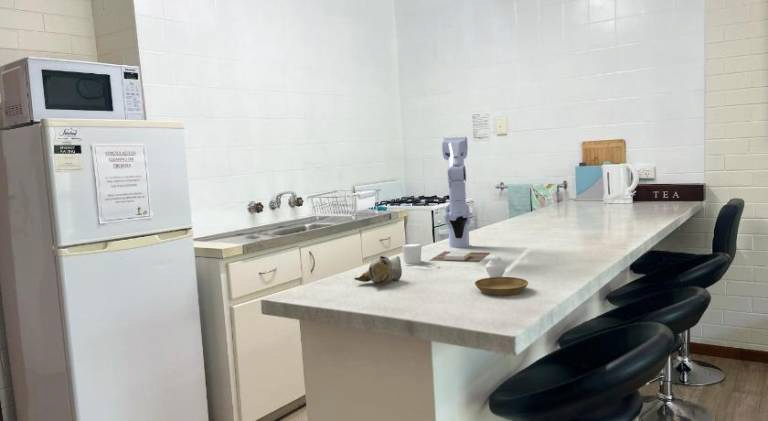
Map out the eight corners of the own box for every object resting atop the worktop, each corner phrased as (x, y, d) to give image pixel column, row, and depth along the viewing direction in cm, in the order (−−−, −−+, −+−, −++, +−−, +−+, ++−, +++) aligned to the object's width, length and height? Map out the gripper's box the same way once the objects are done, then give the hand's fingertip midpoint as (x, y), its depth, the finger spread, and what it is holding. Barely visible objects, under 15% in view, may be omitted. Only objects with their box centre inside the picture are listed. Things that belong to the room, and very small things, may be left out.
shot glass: (422, 262, 212) (421, 243, 212) (422, 266, 206) (421, 246, 205) (403, 262, 213) (402, 243, 212) (402, 266, 206) (401, 246, 206)
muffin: (506, 280, 179) (505, 257, 178) (485, 280, 180) (484, 257, 179) (506, 275, 185) (505, 253, 184) (486, 275, 186) (485, 253, 185)
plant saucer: (475, 298, 161) (475, 289, 160) (474, 285, 175) (474, 277, 175) (531, 297, 159) (531, 288, 158) (525, 284, 173) (525, 276, 173)
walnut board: (444, 254, 226) (444, 251, 226) (491, 255, 219) (491, 252, 219) (428, 263, 210) (428, 260, 210) (478, 265, 203) (478, 262, 203)
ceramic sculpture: (410, 252, 183) (373, 263, 174) (412, 280, 185) (376, 292, 175) (387, 249, 191) (350, 260, 182) (389, 276, 193) (353, 287, 183)
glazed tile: (452, 251, 217) (444, 255, 209) (470, 251, 214) (463, 256, 206) (452, 255, 217) (444, 260, 209) (470, 256, 214) (464, 261, 206)
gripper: (452, 198, 220) (454, 234, 221) (440, 202, 206) (442, 241, 208) (471, 198, 217) (472, 235, 218) (460, 202, 203) (461, 241, 205)
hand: (459, 238), depth 213 cm, fingers closed
